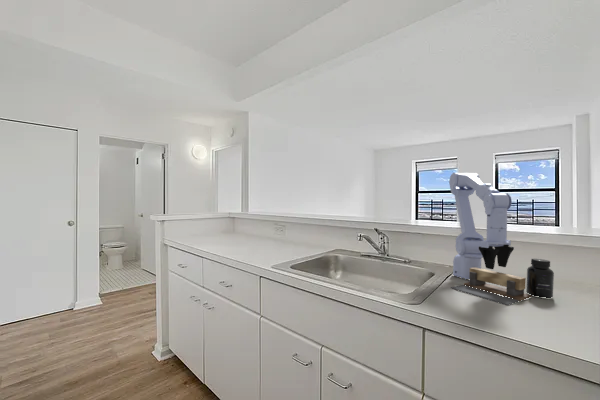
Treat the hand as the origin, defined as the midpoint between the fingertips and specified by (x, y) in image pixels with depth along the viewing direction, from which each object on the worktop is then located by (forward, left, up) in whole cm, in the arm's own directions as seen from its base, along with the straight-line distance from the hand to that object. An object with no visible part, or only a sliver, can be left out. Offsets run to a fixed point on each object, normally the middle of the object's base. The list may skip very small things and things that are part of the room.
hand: (495, 267), depth 98 cm
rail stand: (0, 0, -8) cm, 8 cm away
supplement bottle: (+9, +9, -9) cm, 15 cm away
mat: (0, -7, -8) cm, 11 cm away
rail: (0, 0, -5) cm, 5 cm away
